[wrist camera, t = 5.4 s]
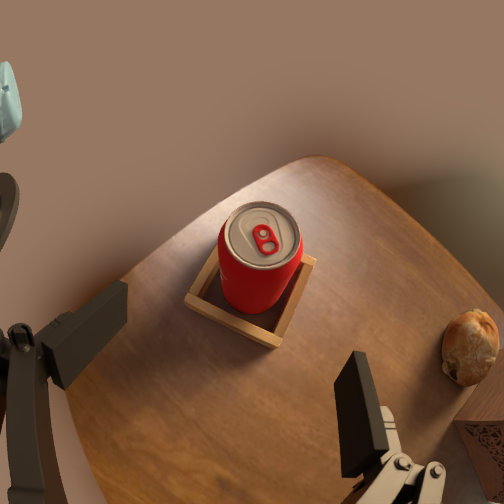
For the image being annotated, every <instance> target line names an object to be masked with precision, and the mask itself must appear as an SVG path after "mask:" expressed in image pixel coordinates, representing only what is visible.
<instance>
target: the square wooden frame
mask: <svg viewBox="0 0 504 504" xmlns="http://www.w3.org/2000/svg"><path fill="white" fill-rule="evenodd" d="M315 261H316V259H314V258H312V257H310V256H308V255H305V254H303V253H302V257H301V260H300V263H299V265H298V267H297V268H296V270H297V271H299V273H298V276H297V278H296V280H295V283H294V285H293V287H292V289H291V292H290V294H289V296H288V298H287V301H286V303H285V305H284V307H283V309H282V312H281V314H280V316H279V318H278V320H277V323H276V325H275V327H274V329H273V331H272V333H270V332H268V331H266V330H263V329H261V328H259V327H257V326H255V325H253V324H251V323H249V322H247V321H244V320H242V319H240V318H238V317H236V316H234V315H232V314H230V313H228V312H226V311H224V310H222V309H220V308H218V307H216V306H214V305H212V304H210V303H208V302H206V301H204V300H202V298H203V296H204V294H205V292H206V291H207V289H208V287H209V285H210V284H211V282H212V280H213V278H214V276H215V275H216V273H217V271H218V269H219V268H220V266H219V257H218V247H217V244H216V246H215V247H214V249H213V251H212V252H211V254H210V256H209V258H208V259H207V261H206V263H205V264H204V266H203V268H202V269H201V271H200V273H199V274H198V276H197V278H196V280H195V281H194V283H193V285H192V286H191V288H190V290H189V292H188V293H187V295H186V297H185V299H184V302H185V304H186V306H187V307H189V308H190V309H192V310H194V311H196V312H198V313H200V314H202V315H204V316H206V317H207V318H209V319H211V320H213V321H215V322H217V323H219V324H221V325H223V326H225V327H227V328H229V329H231V330H233V331H235V332H237V333H239V334H241V335H244V336H246V337H248V338H250V339H252V340H254V341H256V342H258V343H260V344H263V345H265V346H267V347H269V348H271V349H274V350H275V349H276V348H278V347H279V345H280V343H281V341H282V338H283V337H284V334H285V332H286V330H287V328H288V326H289V323H290V321H291V319H292V316H293V314H294V312H295V310H296V307H297V305H298V303H299V300H300V298H301V296H302V293H303V291H304V288H305V286H306V284H307V281H308V279H309V276H310V274H311V271H312V269H313V266H314V264H315Z"/></svg>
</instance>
